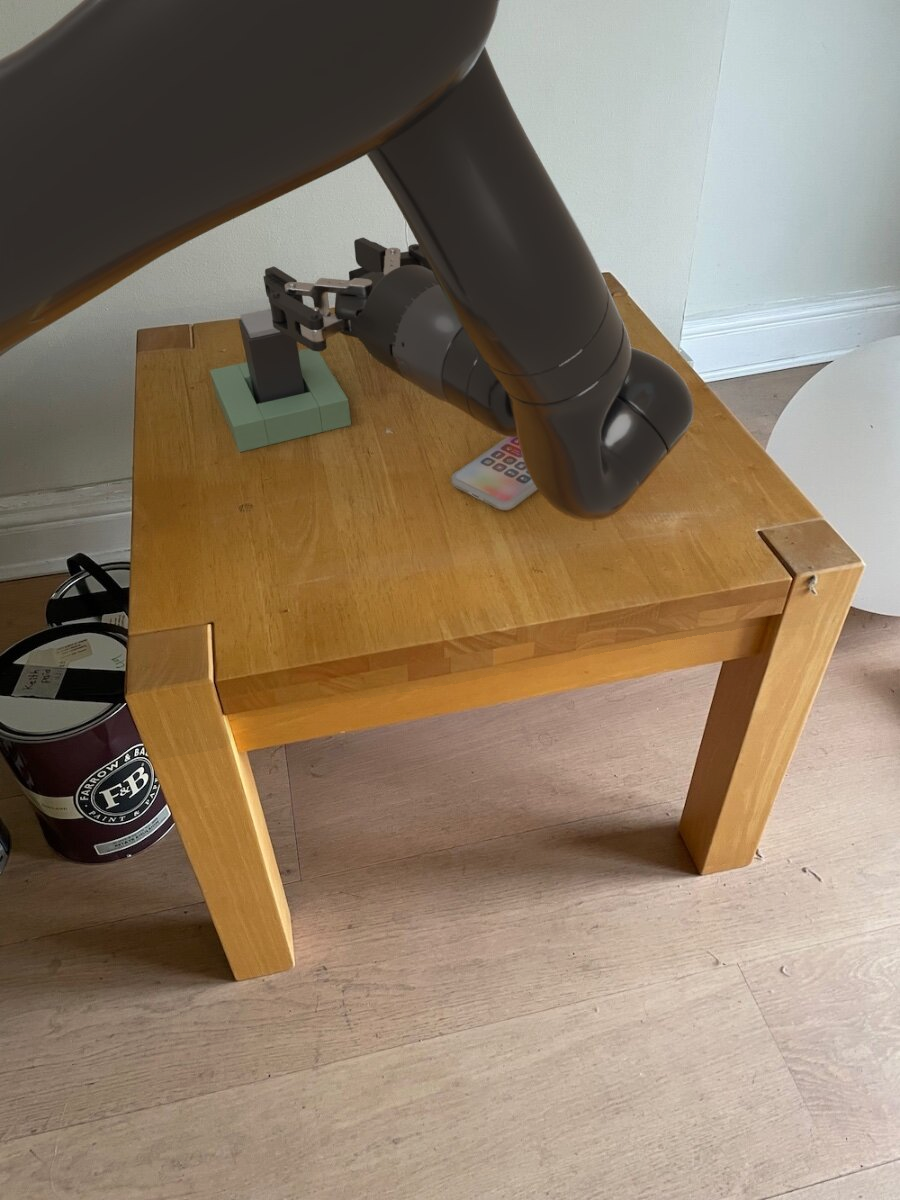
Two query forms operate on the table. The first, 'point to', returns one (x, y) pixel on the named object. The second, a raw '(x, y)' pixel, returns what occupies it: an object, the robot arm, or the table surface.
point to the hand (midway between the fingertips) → (315, 264)
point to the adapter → (280, 405)
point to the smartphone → (497, 476)
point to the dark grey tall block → (270, 358)
